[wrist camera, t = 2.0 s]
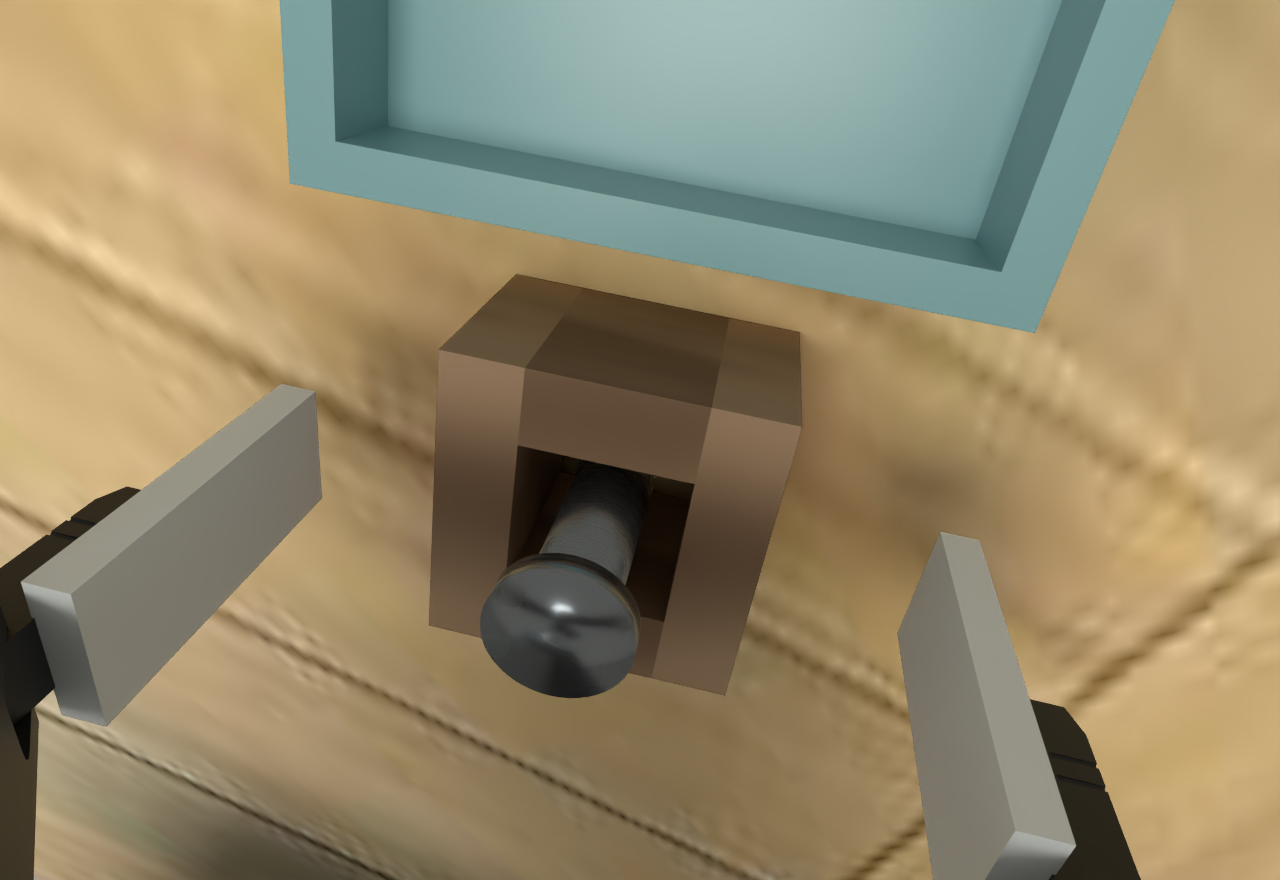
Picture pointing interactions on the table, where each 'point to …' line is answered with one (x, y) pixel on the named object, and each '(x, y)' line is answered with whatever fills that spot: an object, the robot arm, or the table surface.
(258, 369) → the table surface
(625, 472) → the metal bolt
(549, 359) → the collar
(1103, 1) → the tray
